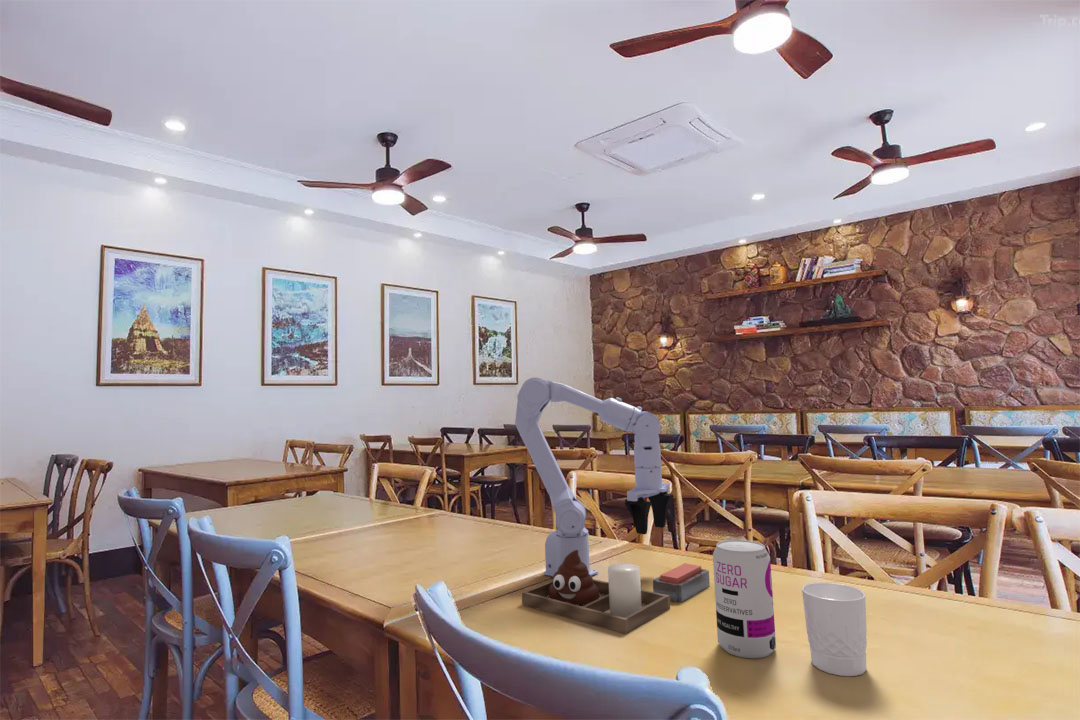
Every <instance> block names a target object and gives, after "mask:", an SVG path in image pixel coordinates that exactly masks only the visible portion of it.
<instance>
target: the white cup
mask: <svg viewBox="0 0 1080 720" xmlns="http://www.w3.org/2000/svg"><path fill="white" fill-rule="evenodd" d="M801 593H802V600H803V601H802V603H803V609H804V610H803V611H804V617H805V618H804V619H805V628H806V634H807V641H808V643H809V650H810V658H811V664H812V665H813V666H814V667H815V668H817V669H818V670H820V671H822V672H825V673H828V674H830V675H836V676H841V677H857V676H860V675H864V673H865V672H866V671H867V653H866V649H867V608H866V607H867V606H866V605H867V603H866V593H865V592H864V591H863V590H862V589H859V588H857V587H854V586H851V585H847V584H842V583H836V582H812V583H807V584H804V585H803V586H801Z"/></svg>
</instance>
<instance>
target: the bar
mask: <svg viewBox="0 0 1080 720" xmlns="http://www.w3.org/2000/svg"><path fill="white" fill-rule="evenodd" d="M701 569H702V566H701V565H698V564H697V565H696V564H692V563H691V564H690V563H683V564H680V565H678V566H676V567H674V568H672V569H670V570H668V571H666V572H664V573H662V574H660V575H659V577H660V581H665V582H670V583H675V584H680V583H682V582H683V581H685V580H687V579H689V578H691V577H693V576H695V575H697V574H699V573H700V572H702V571H701Z"/></svg>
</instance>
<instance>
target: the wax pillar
mask: <svg viewBox="0 0 1080 720" xmlns="http://www.w3.org/2000/svg"><path fill="white" fill-rule="evenodd" d="M607 574H608V576H607V577H608V581H607V582H609V604H610V609H609V614H612V615H616V616H620V617H626V616H628V615H630V614H632V613H634V612H635V611H637V610H639V609H641V608H643V607H642V604H643V603H641V590H642V587H641V586H642V585H641V568H640V566H638V565H636V564H633V563H632V564H631V563H615V564H611V565H609V566H607Z"/></svg>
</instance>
